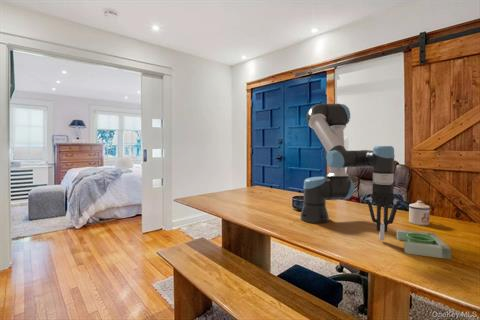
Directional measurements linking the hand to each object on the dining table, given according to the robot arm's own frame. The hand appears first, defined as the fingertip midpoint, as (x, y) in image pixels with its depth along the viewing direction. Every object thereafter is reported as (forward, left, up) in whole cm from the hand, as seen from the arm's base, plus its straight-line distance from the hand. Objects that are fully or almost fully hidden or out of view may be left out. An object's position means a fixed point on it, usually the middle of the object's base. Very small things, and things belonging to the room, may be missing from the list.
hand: (381, 239), depth 105 cm
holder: (+13, 0, -1) cm, 13 cm away
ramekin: (+13, -1, -2) cm, 13 cm away
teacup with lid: (+22, +38, -2) cm, 44 cm away
